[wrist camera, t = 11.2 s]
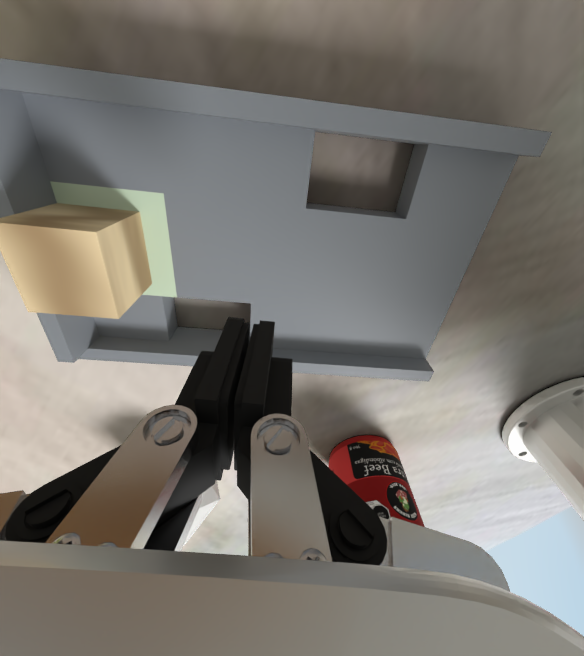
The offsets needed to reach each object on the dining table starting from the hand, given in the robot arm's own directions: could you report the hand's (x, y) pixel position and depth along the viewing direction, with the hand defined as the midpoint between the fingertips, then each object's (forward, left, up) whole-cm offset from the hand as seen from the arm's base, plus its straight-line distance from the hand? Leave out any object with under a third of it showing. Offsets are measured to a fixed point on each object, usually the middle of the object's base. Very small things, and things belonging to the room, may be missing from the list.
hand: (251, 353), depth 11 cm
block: (+10, 0, -9) cm, 13 cm away
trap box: (0, 0, -11) cm, 11 cm away
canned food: (-12, +23, -11) cm, 28 cm away
